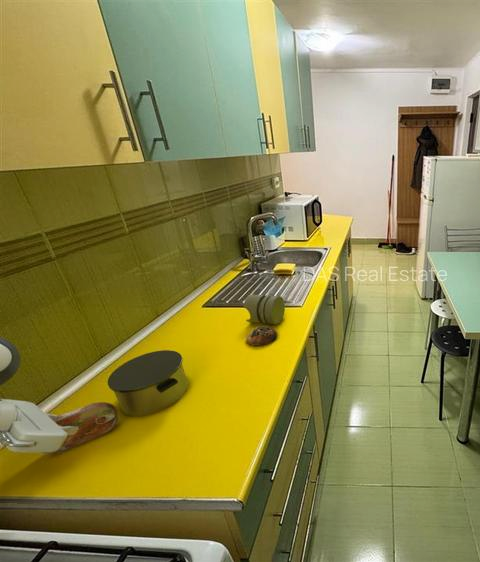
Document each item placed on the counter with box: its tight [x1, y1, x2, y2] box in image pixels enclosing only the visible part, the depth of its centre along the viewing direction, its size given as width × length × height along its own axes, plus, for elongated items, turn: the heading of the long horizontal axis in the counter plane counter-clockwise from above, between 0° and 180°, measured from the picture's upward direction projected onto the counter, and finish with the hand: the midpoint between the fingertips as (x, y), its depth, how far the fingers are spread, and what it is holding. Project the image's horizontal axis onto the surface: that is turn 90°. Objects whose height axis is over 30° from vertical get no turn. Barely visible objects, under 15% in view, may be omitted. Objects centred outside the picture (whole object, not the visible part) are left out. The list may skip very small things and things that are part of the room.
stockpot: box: [106, 349, 189, 417], centre depth 86 cm, size 19×17×9 cm
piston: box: [242, 294, 286, 325], centre depth 123 cm, size 11×12×11 cm
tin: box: [43, 401, 119, 455], centre depth 73 cm, size 15×3×8 cm, turn 126°
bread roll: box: [245, 325, 278, 347], centre depth 113 cm, size 11×11×5 cm
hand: (70, 425), depth 72 cm, fingers closed on tin, 4 cm apart
